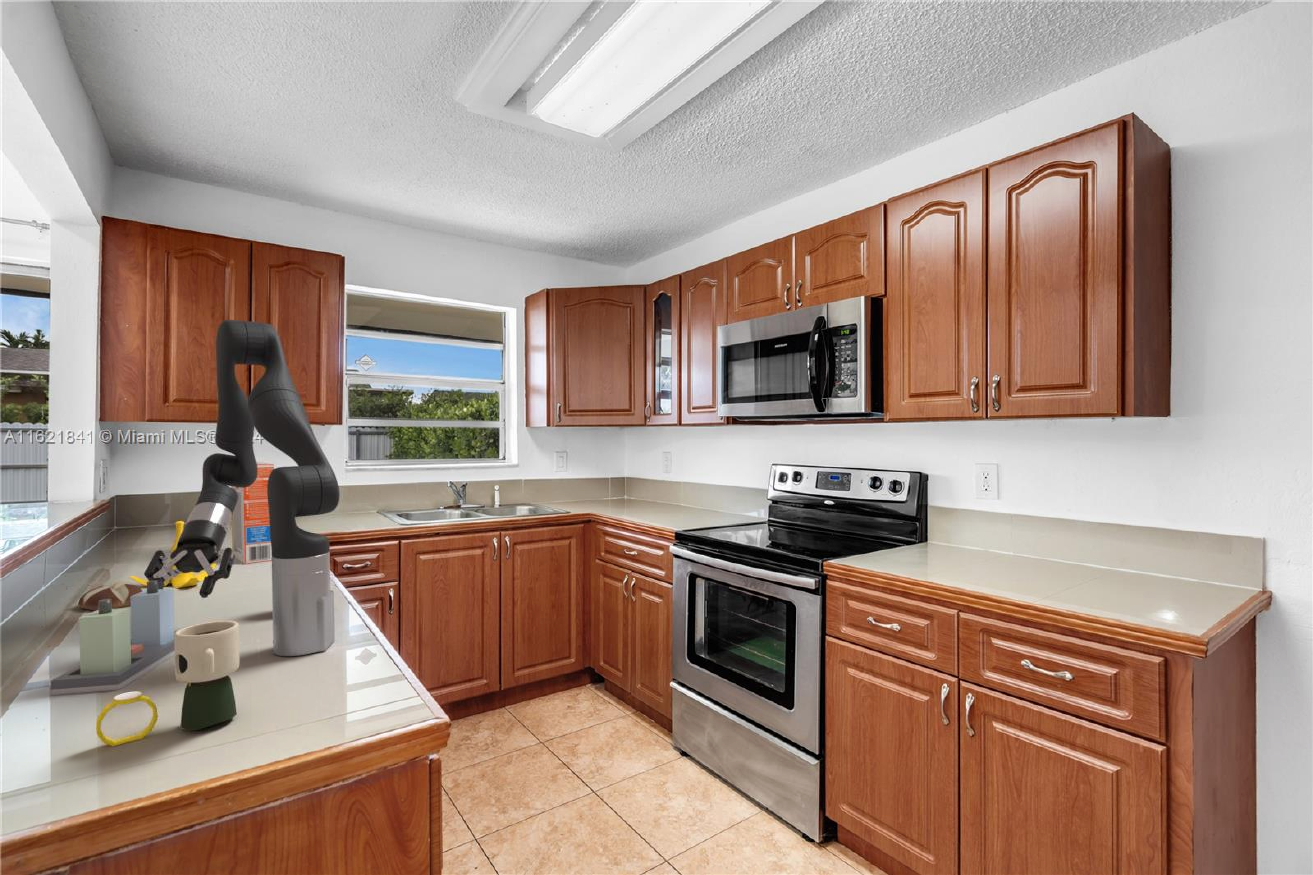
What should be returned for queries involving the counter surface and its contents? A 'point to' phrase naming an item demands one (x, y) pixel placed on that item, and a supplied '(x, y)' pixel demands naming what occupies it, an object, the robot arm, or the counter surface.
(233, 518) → the pasta box
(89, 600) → the bread
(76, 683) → the grey rimmed tray
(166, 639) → the plug
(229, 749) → the counter surface
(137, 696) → the watch
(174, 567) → the banana peel
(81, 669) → the green knobbed block
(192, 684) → the character mug
